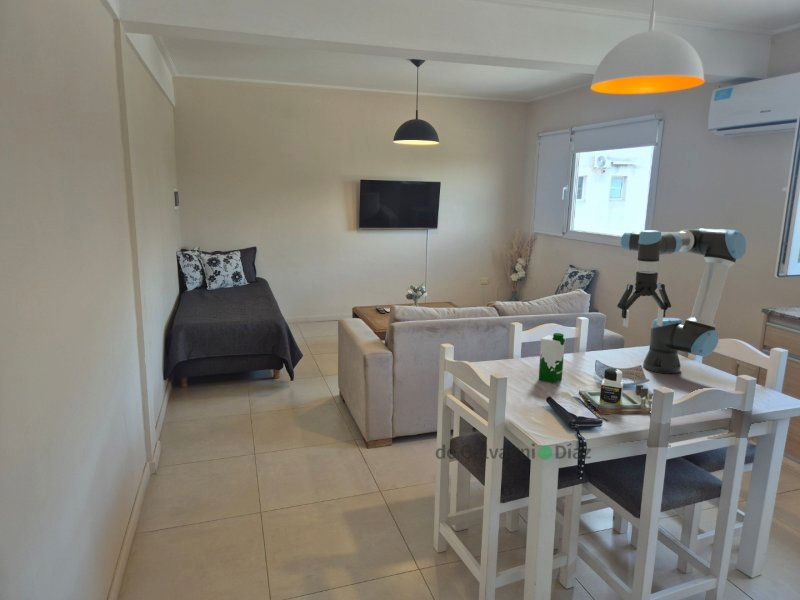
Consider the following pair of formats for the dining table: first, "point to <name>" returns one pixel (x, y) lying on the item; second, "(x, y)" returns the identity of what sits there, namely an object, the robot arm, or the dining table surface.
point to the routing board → (623, 401)
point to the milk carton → (551, 358)
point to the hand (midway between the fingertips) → (642, 325)
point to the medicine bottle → (612, 387)
